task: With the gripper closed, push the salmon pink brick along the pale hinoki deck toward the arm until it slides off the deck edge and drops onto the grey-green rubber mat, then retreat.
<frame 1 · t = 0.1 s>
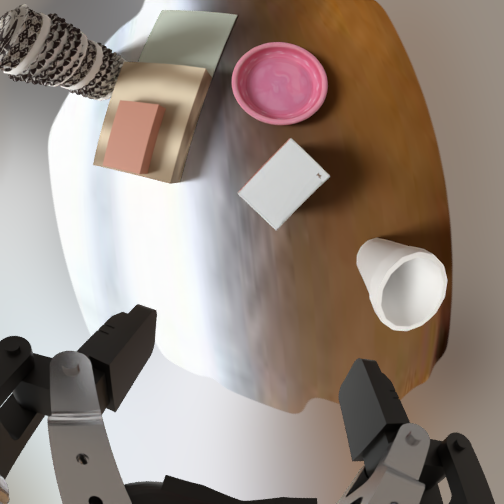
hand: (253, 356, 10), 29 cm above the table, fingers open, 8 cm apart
saucer: (279, 87, 33), on the table
deck: (155, 120, 35), on the table
small box: (280, 181, 36), on the table
foam cup: (375, 258, 38), on the table
mat: (184, 40, 31), on the table
decorative candle: (107, 78, 33), on the table
salmon pink brick: (137, 137, 32), point 4 cm above the table, touching deck
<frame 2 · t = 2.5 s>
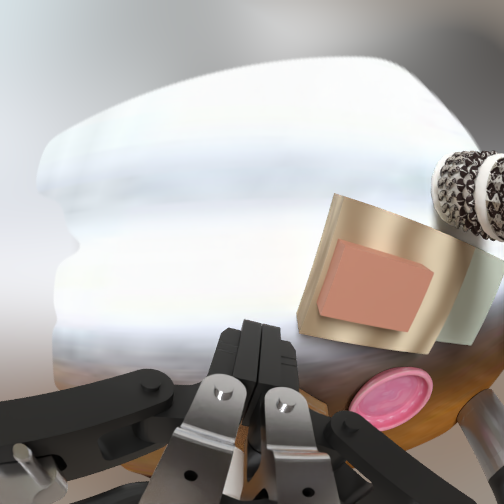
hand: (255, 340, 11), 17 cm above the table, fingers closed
saucer: (386, 390, 31), on the table
deck: (384, 275, 27), on the table
small box: (292, 401, 33), on the table
foam cup: (226, 452, 37), on the table
mat: (466, 298, 27), on the table
decorative candle: (457, 189, 24), on the table
salmon pink brick: (372, 283, 23), point 4 cm above the table, touching deck
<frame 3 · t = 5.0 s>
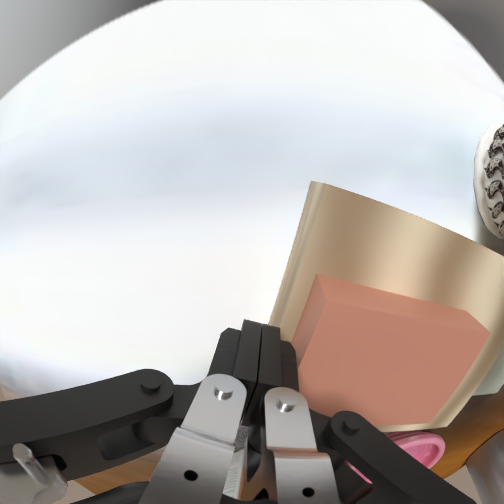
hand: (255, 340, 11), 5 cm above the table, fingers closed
saucer: (384, 452, 20), on the table
deck: (395, 320, 15), on the table
small box: (257, 466, 21), on the table
mat: (503, 339, 15), on the table
salmon pink brick: (380, 350, 12), point 4 cm above the table, touching gripper
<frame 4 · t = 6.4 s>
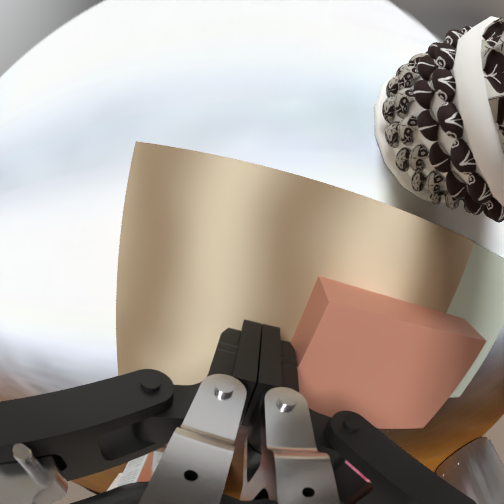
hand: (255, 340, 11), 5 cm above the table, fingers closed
deck: (281, 294, 16), on the table
small box: (182, 449, 22), on the table
mat: (455, 331, 15), on the table
decorative candle: (432, 133, 12), on the table
salmon pink brick: (377, 353, 12), point 4 cm above the table, touching deck, gripper
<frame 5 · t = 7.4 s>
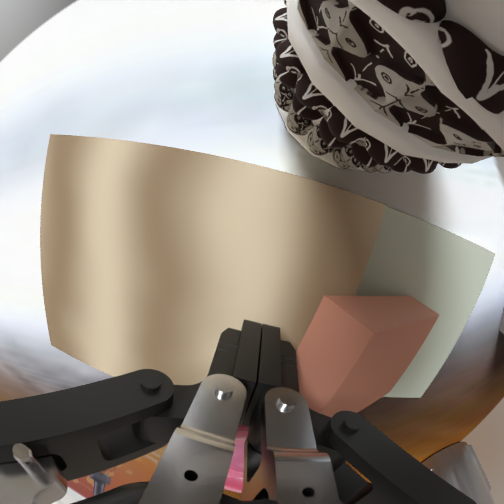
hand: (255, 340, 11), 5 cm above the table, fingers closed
saucer: (265, 447, 21), on the table
deck: (188, 269, 16), on the table
small box: (132, 431, 22), on the table
mat: (403, 321, 16), on the table
decorative candle: (350, 97, 12), on the table
salmon pink brick: (352, 346, 13), point 3 cm above the table, tilted 36°, touching deck, mat
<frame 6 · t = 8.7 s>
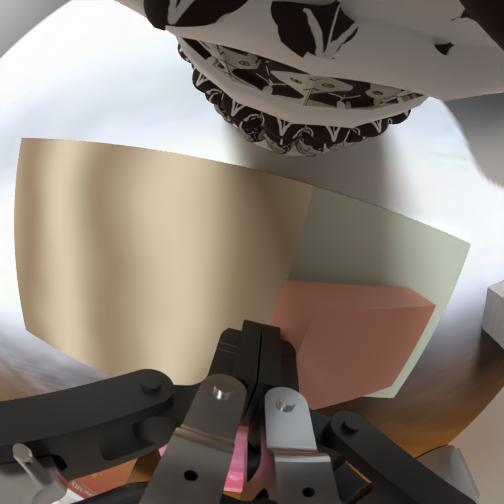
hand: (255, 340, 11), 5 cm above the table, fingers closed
saucer: (233, 442, 21), on the table
deck: (142, 259, 16), on the table
small box: (108, 421, 22), on the table
mat: (364, 315, 16), on the table
decorative candle: (295, 84, 13), on the table
salmon pink brick: (340, 334, 14), point 2 cm above the table, tilted 25°, touching gripper, mat
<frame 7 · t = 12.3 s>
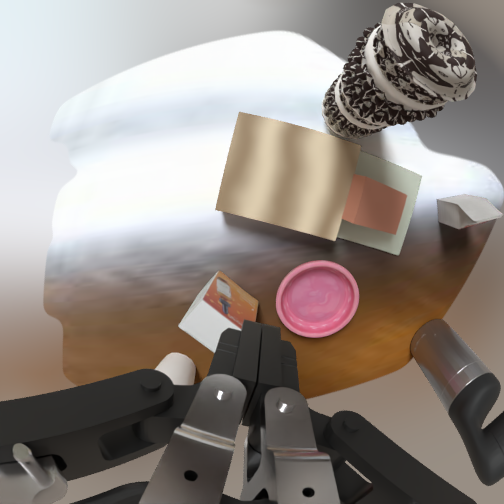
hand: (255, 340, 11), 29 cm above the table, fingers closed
saucer: (315, 293, 42), on the table
deck: (287, 175, 37), on the table
small box: (228, 296, 43), on the table
foam cup: (180, 365, 47), on the table
mat: (378, 203, 37), on the table
decorative candle: (349, 111, 34), on the table
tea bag: (451, 207, 36), on the table
salmon pink brick: (370, 203, 35), point 2 cm above the table, tilted 25°, touching deck, mat
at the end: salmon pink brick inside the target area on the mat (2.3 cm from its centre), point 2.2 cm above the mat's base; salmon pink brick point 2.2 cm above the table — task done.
